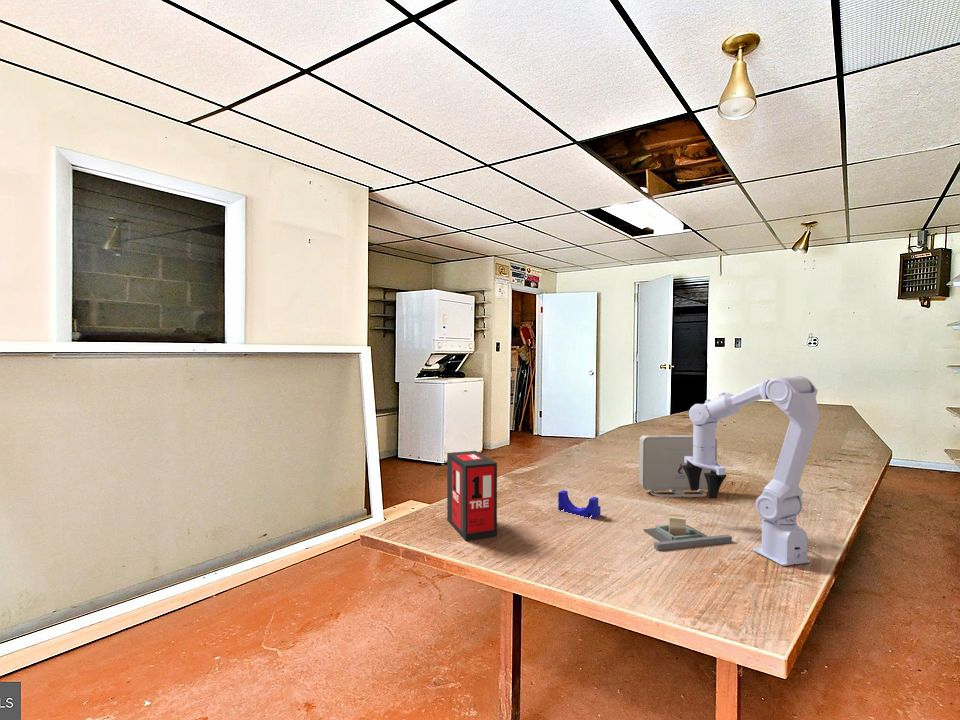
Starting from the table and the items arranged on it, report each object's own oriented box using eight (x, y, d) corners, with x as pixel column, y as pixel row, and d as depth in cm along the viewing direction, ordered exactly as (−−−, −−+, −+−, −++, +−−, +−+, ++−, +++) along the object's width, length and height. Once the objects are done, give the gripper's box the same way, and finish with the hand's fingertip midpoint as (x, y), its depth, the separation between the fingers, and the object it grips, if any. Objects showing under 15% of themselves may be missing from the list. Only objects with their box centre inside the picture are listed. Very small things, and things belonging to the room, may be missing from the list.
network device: (645, 497, 170) (645, 438, 169) (636, 489, 179) (636, 433, 178) (719, 496, 171) (720, 438, 170) (707, 489, 180) (707, 433, 179)
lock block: (685, 537, 133) (685, 519, 133) (669, 536, 135) (669, 517, 134) (684, 532, 137) (684, 514, 137) (668, 530, 138) (669, 512, 138)
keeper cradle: (714, 541, 132) (714, 535, 132) (667, 546, 129) (667, 540, 129) (687, 526, 143) (687, 521, 143) (643, 530, 140) (643, 525, 140)
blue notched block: (600, 516, 152) (600, 496, 152) (593, 520, 148) (593, 500, 148) (565, 507, 159) (565, 489, 159) (558, 511, 156) (558, 492, 156)
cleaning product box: (496, 536, 135) (497, 463, 135) (465, 541, 132) (465, 465, 131) (475, 516, 151) (475, 450, 150) (447, 520, 148) (447, 452, 147)
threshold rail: (731, 542, 132) (731, 536, 132) (657, 550, 126) (657, 544, 126) (727, 539, 133) (727, 534, 133) (654, 548, 128) (654, 542, 128)
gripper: (735, 450, 136) (734, 500, 136) (699, 440, 150) (698, 485, 150) (712, 452, 134) (711, 502, 134) (678, 441, 148) (677, 487, 148)
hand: (703, 494), depth 142 cm, fingers open, 7 cm apart
